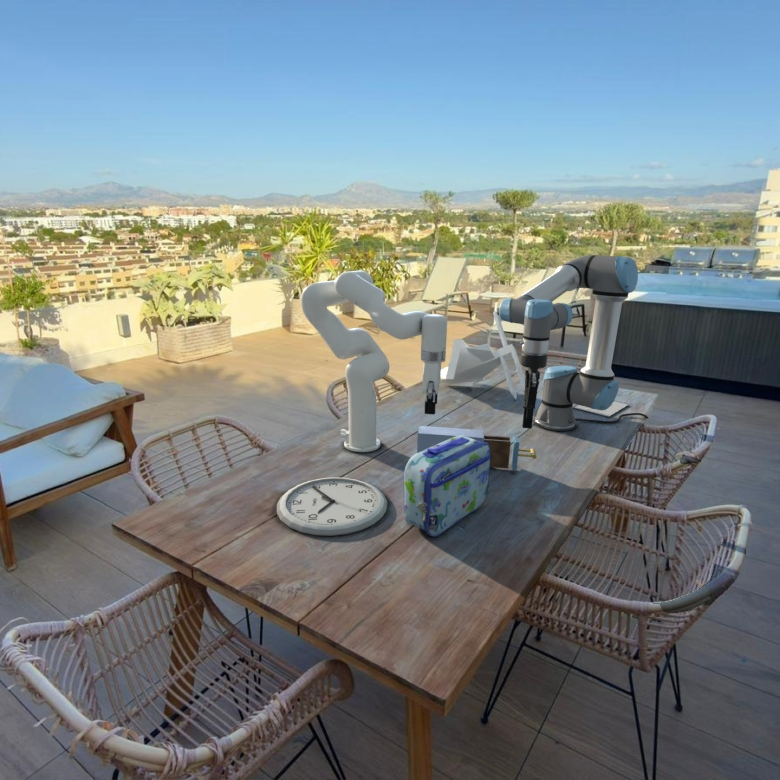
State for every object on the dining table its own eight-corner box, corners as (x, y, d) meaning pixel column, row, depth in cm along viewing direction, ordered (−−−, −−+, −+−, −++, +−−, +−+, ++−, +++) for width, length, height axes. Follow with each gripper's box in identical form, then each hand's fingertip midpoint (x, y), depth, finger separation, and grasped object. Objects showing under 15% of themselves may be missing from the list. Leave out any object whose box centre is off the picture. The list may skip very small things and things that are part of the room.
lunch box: (429, 545, 125) (432, 466, 119) (397, 527, 132) (398, 451, 126) (492, 507, 143) (498, 436, 136) (460, 493, 150) (465, 425, 144)
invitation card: (608, 416, 214) (573, 407, 224) (608, 416, 214) (573, 408, 224) (628, 404, 229) (594, 396, 238) (628, 405, 229) (594, 397, 238)
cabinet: (481, 462, 170) (483, 430, 167) (481, 471, 164) (484, 438, 161) (418, 457, 173) (419, 425, 170) (416, 466, 167) (417, 433, 163)
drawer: (533, 464, 167) (536, 437, 165) (535, 472, 162) (538, 443, 159) (454, 458, 171) (456, 431, 168) (454, 466, 166) (455, 437, 163)
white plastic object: (461, 429, 252) (437, 405, 227) (444, 352, 274) (420, 323, 250) (535, 404, 240) (518, 377, 215) (510, 326, 262) (492, 293, 237)
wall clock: (392, 527, 129) (268, 531, 127) (391, 533, 130) (269, 537, 127) (383, 473, 158) (282, 475, 155) (383, 478, 158) (282, 480, 156)
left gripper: (423, 348, 168) (421, 399, 173) (418, 361, 151) (416, 417, 156) (446, 349, 167) (444, 400, 172) (444, 363, 150) (441, 419, 155)
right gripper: (519, 347, 161) (512, 419, 168) (523, 357, 148) (516, 434, 156) (544, 348, 160) (536, 420, 167) (550, 358, 147) (542, 436, 155)
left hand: (430, 408), depth 164 cm, fingers open, 9 cm apart
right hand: (526, 427), depth 161 cm, fingers closed
